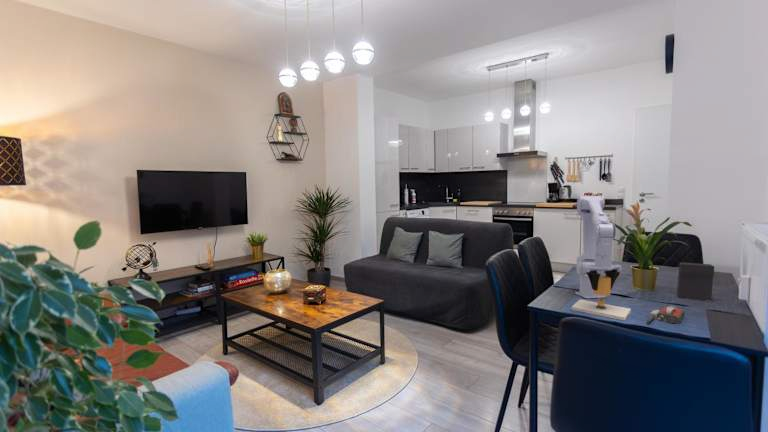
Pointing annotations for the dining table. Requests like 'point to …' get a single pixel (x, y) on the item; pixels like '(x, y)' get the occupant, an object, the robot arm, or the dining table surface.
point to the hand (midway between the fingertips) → (601, 289)
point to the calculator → (695, 281)
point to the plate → (601, 309)
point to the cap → (603, 286)
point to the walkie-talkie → (668, 314)
